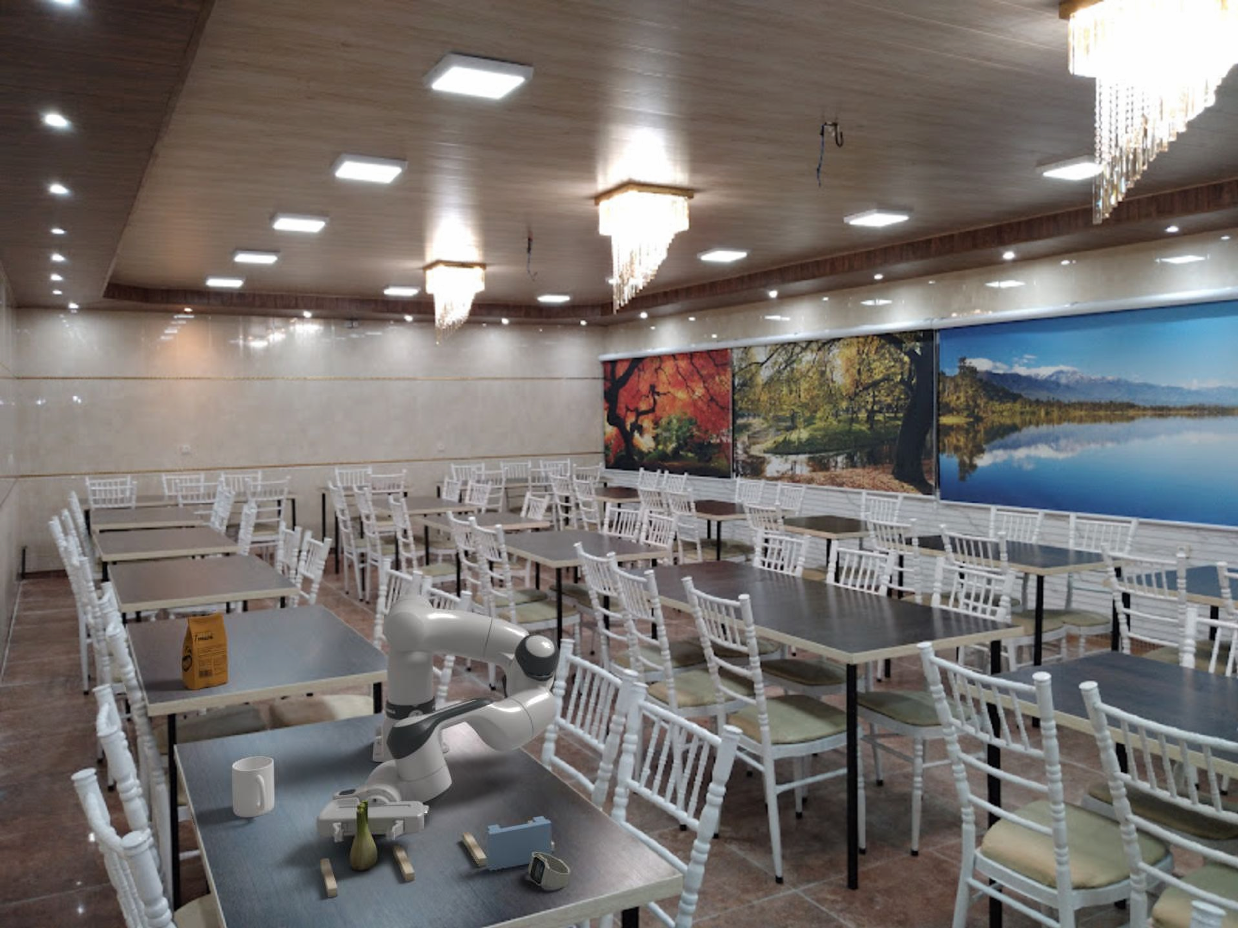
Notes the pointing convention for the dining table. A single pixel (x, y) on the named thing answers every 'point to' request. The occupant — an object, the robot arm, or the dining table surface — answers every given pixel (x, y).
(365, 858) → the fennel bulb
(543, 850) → the blue notched panel
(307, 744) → the dining table surface
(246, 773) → the cup
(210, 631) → the coffee package
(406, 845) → the dining table surface
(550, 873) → the wristwatch
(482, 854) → the beige small bars
